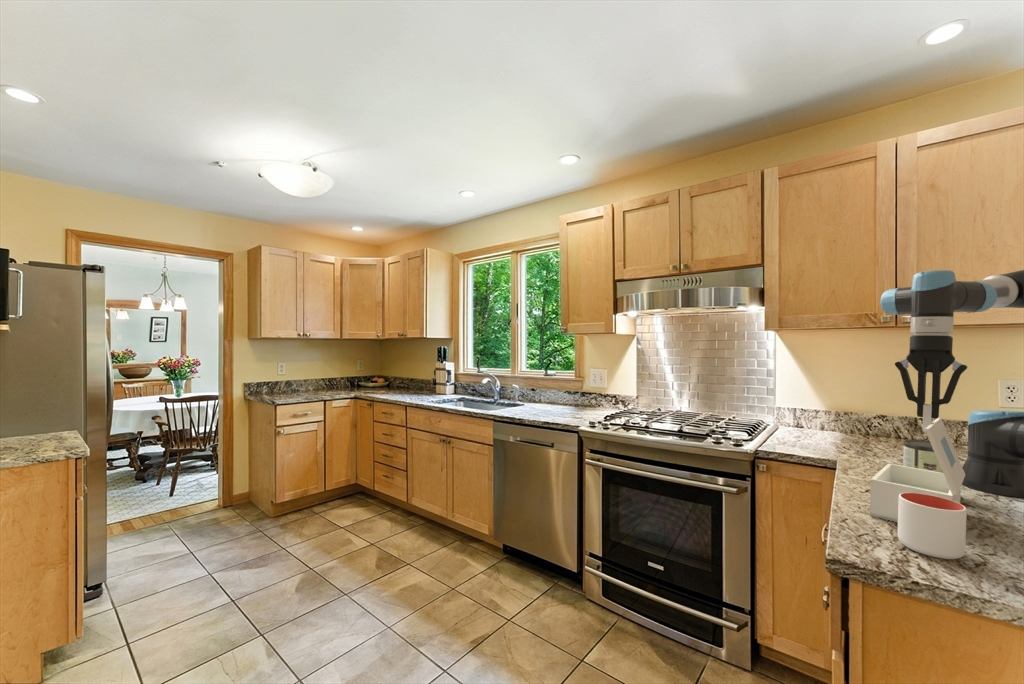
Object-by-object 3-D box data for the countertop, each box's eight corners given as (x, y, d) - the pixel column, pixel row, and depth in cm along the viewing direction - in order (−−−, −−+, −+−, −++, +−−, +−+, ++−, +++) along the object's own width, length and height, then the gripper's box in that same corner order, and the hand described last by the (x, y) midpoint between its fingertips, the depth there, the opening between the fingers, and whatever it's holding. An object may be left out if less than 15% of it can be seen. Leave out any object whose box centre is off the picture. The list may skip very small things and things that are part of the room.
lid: (924, 429, 98) (929, 428, 97) (936, 418, 113) (941, 417, 112) (952, 494, 95) (957, 494, 94) (961, 474, 109) (966, 474, 109)
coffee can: (933, 489, 126) (935, 440, 126) (962, 502, 116) (964, 449, 116) (892, 486, 128) (894, 438, 128) (917, 498, 118) (919, 447, 118)
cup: (949, 566, 82) (951, 514, 82) (886, 542, 92) (888, 495, 91) (975, 556, 86) (976, 506, 86) (912, 535, 96) (914, 490, 95)
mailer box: (869, 515, 106) (870, 479, 105) (887, 495, 120) (888, 463, 120) (951, 536, 95) (952, 495, 95) (959, 511, 109) (961, 476, 109)
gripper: (892, 334, 108) (889, 428, 108) (968, 334, 98) (964, 438, 99) (898, 334, 113) (894, 424, 113) (970, 335, 103) (966, 434, 103)
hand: (927, 431), depth 106 cm, fingers closed
